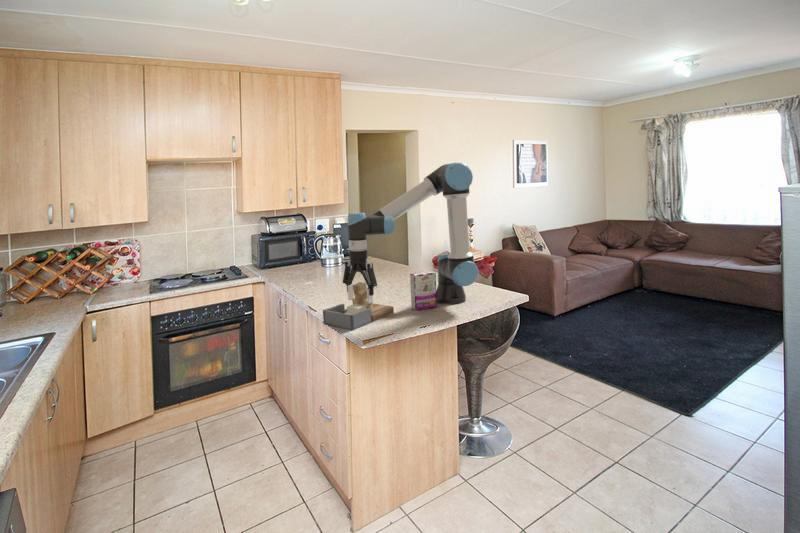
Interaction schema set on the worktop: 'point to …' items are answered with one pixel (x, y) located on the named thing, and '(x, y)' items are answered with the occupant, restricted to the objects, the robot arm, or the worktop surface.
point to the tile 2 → (356, 308)
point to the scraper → (361, 295)
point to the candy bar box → (423, 290)
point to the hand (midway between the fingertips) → (360, 301)
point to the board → (380, 311)
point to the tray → (346, 317)
